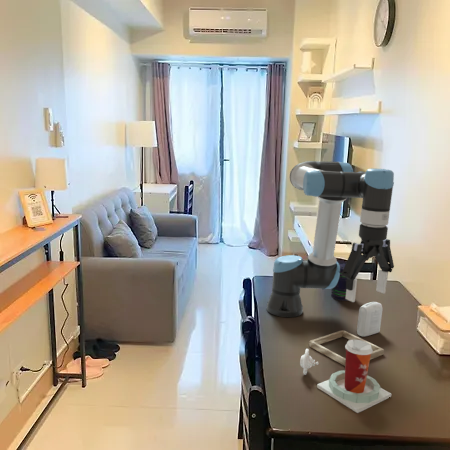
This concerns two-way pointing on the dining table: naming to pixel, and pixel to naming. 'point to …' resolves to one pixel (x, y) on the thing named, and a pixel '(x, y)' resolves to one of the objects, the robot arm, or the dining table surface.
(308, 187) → the robot arm
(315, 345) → the tray frame
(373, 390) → the cup holder
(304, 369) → the ring around a ball
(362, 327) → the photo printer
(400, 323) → the dining table surface
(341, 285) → the storage jar
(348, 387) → the paper cup
